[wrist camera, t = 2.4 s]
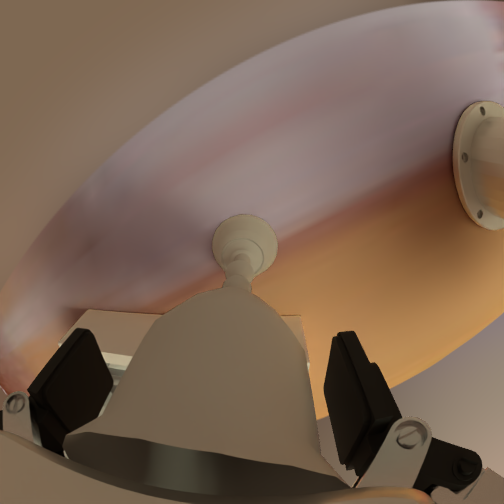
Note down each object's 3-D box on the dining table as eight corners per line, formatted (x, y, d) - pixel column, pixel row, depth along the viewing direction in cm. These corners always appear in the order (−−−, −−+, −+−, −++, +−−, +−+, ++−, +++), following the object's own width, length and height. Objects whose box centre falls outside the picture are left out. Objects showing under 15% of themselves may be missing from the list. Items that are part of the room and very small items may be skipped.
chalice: (276, 296, 22) (288, 530, 6) (195, 279, 22) (101, 495, 5) (300, 211, 20) (421, 448, 3) (209, 191, 20) (14, 371, 3)
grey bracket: (300, 315, 23) (311, 372, 16) (293, 397, 27) (297, 449, 20) (88, 309, 24) (52, 349, 17) (119, 385, 28) (98, 426, 21)
